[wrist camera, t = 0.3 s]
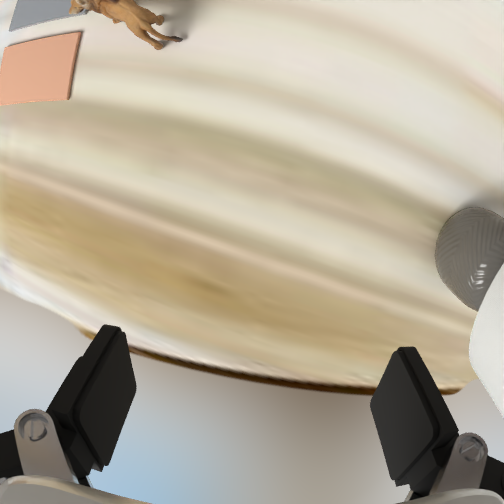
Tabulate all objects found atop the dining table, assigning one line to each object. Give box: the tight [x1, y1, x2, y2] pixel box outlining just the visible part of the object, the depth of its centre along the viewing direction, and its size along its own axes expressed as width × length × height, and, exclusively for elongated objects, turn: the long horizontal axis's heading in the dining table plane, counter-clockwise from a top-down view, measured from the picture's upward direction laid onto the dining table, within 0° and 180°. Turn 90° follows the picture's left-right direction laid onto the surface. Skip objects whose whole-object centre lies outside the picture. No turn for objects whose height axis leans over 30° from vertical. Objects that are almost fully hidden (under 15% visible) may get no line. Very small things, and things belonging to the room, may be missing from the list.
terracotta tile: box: [0, 32, 81, 105], centre depth 31 cm, size 10×16×1 cm, turn 80°
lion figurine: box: [69, 0, 183, 50], centre depth 25 cm, size 15×5×9 cm, turn 57°
